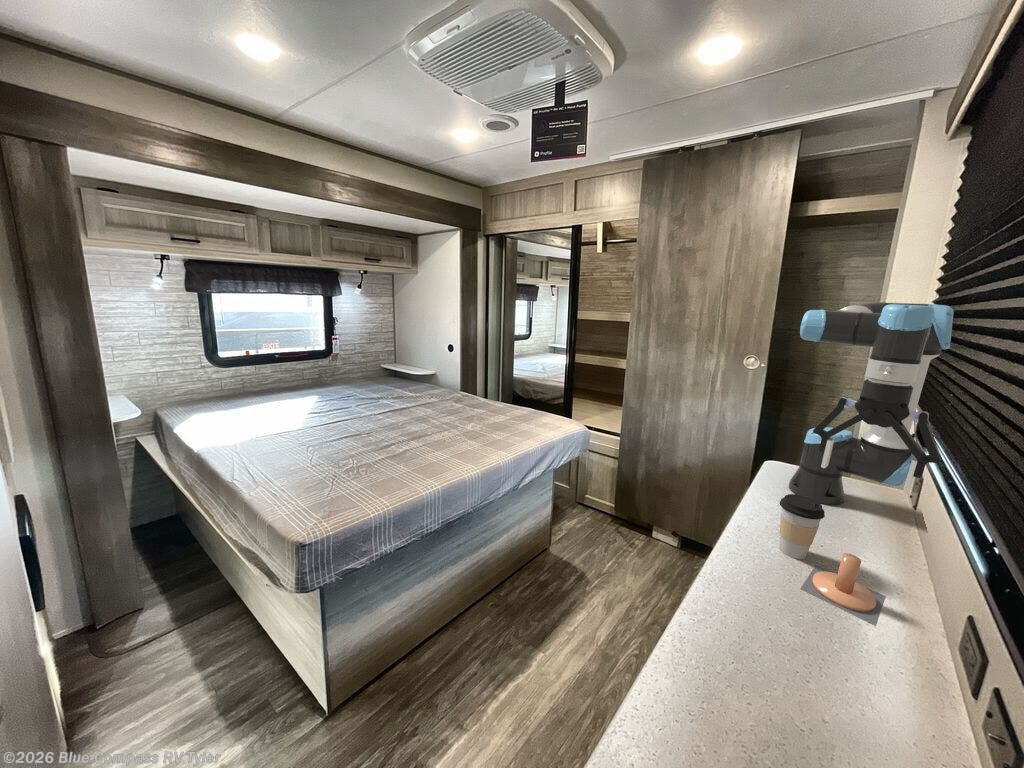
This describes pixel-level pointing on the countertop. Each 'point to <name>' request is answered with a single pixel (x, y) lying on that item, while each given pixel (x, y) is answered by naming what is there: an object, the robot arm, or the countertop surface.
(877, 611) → the mat
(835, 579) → the lid
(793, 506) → the coffee cup
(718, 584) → the countertop surface
